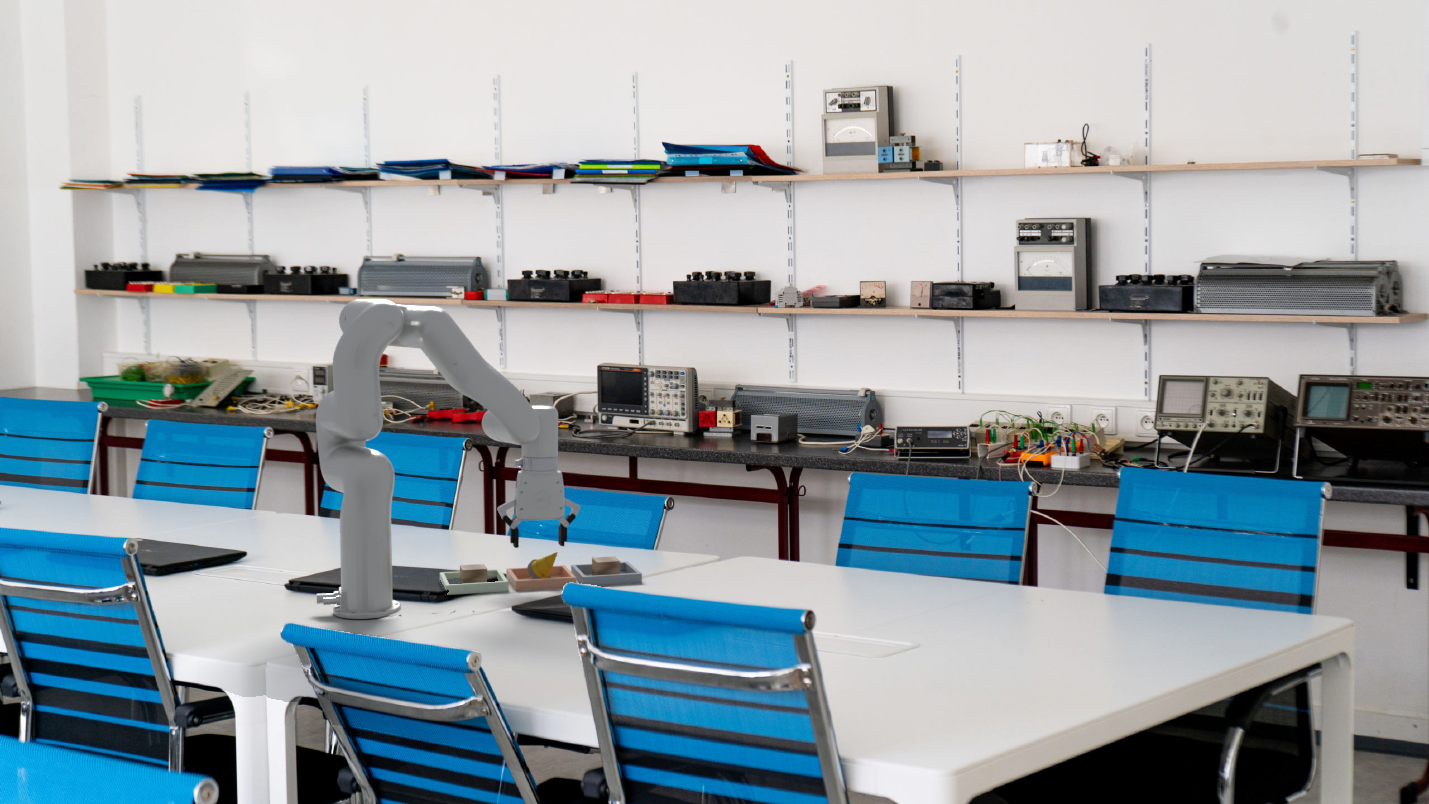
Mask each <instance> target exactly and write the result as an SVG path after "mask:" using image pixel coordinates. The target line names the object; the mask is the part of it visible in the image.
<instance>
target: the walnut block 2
mask: <svg viewBox="0 0 1429 804" xmlns="http://www.w3.org/2000/svg"><path fill="white" fill-rule="evenodd" d="M620 562H621V561H620V559H619V558H617V557H616V556H602V557H601V556H600V557H592V558H591V564H592V576H595V575H612V574H620Z"/></svg>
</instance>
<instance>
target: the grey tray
mask: <svg viewBox="0 0 1429 804" xmlns="http://www.w3.org/2000/svg"><path fill="white" fill-rule="evenodd" d="M570 571H571V572H572V574H573V575H574V576H575V577H576V582H578V583H579V584H580V583H582V584H591V585H597V586H608V585H607V584H612V585H624V584H641V583H643V573H642V572H641V571H640V570H638V569H637V567H635V566H634V565H632V564H631V563H630V562H629V561H620V574H612V575H595V576H592V563H580V564H579V563H578V564H571V565H570Z"/></svg>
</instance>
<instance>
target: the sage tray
mask: <svg viewBox="0 0 1429 804" xmlns="http://www.w3.org/2000/svg"><path fill="white" fill-rule="evenodd" d="M487 576H497V579H498V581H495V582H480V583H464V584H449V582H448V580H447V579H453V578H460V570H458V571H444V572H443V571H442V572H439V581H440V580H441V582H442V584H443V585H444V587H445V589H446V590H447V589H448V590H449V592H448V593H447V595H446V596H451V595H452V596H453V595H454V596H455V595H467V594H468V595H469V594H481V593H482V594H483V593H499V592H501V593H502V592H509V590H510V587H509V584H510V582H509V581H508V579H507V578H506V576H505V574H504V572H503V571H502V570H501V569H500V568H498V569H497V568H496V569H495V568H494V569H487Z"/></svg>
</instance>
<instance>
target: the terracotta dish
mask: <svg viewBox="0 0 1429 804" xmlns="http://www.w3.org/2000/svg"><path fill="white" fill-rule="evenodd" d="M527 567H528V566H527ZM527 567H512V568H506V569H505V570H506V572H505V573H506V574H505V575H506V576H505V577H506V579H507V580H508V582H509V584H510V585H511V586H512V588H513V589H514V591H516V592H517V591H530V590H531V591H533V590H546V589H548V590H549V589H562V588H563V586H564V585H565V584H566V583H569V582H574V583H576V584H577V579H576V577H575V576H574V575H573V574H572V572H571V569H569V568H568V567H567V566H566V564H565V565H562V564H561V565H553V567H552V570H551V578H546V579H531V576H530V574H529V572H528V569H527Z"/></svg>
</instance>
